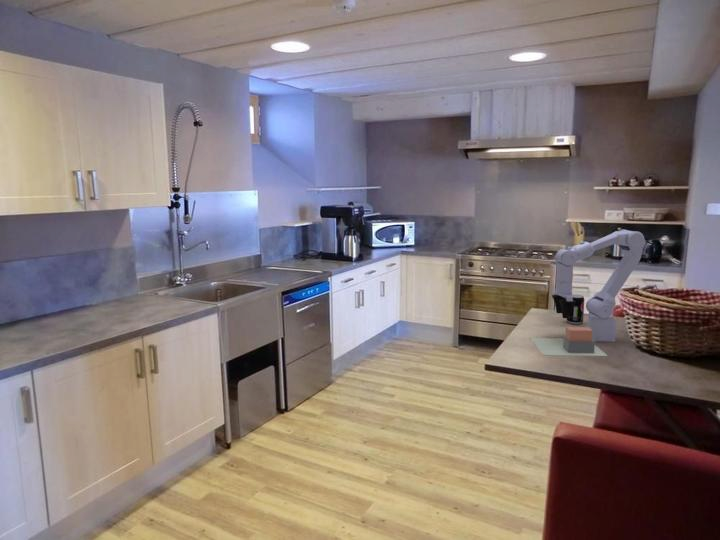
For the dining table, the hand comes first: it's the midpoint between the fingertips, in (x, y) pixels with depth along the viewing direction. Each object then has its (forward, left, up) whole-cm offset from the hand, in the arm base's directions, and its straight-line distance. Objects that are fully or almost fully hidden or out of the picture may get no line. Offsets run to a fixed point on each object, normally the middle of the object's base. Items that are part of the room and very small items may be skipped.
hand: (562, 315), depth 196 cm
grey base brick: (-2, +13, -10) cm, 16 cm away
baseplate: (+1, +9, -10) cm, 13 cm away
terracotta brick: (-2, +13, -6) cm, 14 cm away
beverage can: (-13, -26, -10) cm, 31 cm away
